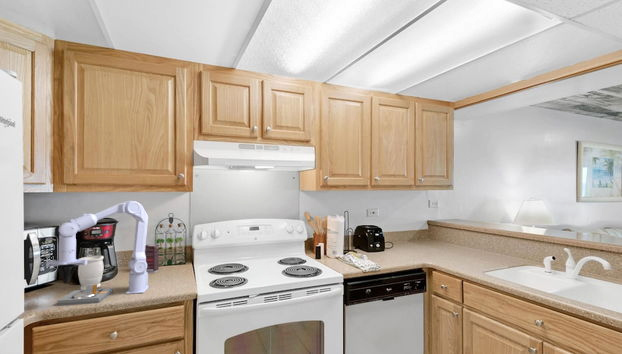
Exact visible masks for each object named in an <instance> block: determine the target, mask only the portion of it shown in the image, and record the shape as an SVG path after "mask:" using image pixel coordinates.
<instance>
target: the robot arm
mask: <svg viewBox="0 0 622 354" xmlns="http://www.w3.org/2000/svg"><path fill="white" fill-rule="evenodd" d="M115 214H128V215H129V216H131V217H132V218H133V219H135V233H134V241H133V242H134V243H133V251H132V254H131V259H130V260H129V261H128V268H129V269H130V271H129V272H128V278H129V279H128V290H127V291H126V292H125V295H129V294H143V293H146V291H147V290H148V289H149V288H150V287H151V285H149V273H147V272H146V269H147V263H146V255H145V246H146V245H147V236H148V235H147V233H148V224H149V215H148V214H147V212H146V210H145V209H144V206H143V205H142V204H141V203H139V202H138V201H135V200H126V201H124V202H119V203H117V204H114V205H112V206H110V207H108V208H106V209H103V210H101V211H98V212H97V213H94V214H93V213H83V214H82V216H80V217H77V218H75V219H73V218H72V219H70V221H69V222H68V221H66V222H63V223H62V224H60V226H59V227H58V233H59V236H58V237H59V240H58V260H48V261H46V264H45V265H46V268H49V267H57V268H56V270H57V272H58V273H59V274H60V276H61V279H62V282H63V284H68V283H70V282H71V279H72V276H73V274H74V272H75V270H76V268H77V266H79V265H86V264H87V260H80V258H78V259H77V239H76V236H77V235H76V234H77V233H78V232H82V231H83V230H87V229H88V228H91V227H93V226H95V225H97V222H99V221H100V220H102V219H105V218H107V217H111V216H113V215H115Z"/></svg>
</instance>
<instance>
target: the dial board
mask: <svg viewBox="0 0 622 354" xmlns="http://www.w3.org/2000/svg"><path fill="white" fill-rule="evenodd" d="M97 290H98V291H99V294H97V295H96V296H94V297H90V298H74V295H75V294H77V293H79V292H83V291H86V290H81V289H74V290H73V291H71V292H69V293H67V294H66V295H64V296H63V297H61V298H58V299H57V300H56V306H57V307H58V306H62V307H63V306H73V305H75V306H76V305H89V304H99V303H101V302H102V301H103V300H105V299H106V298H107V297H109V296H110V295H111V294H113V287H107V288H106V287H104V288H97Z"/></svg>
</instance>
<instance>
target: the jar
mask: <svg viewBox="0 0 622 354" xmlns="http://www.w3.org/2000/svg"><path fill="white" fill-rule="evenodd" d="M104 258H105V257H104V255H88V256H84V257H83V256H82V257H81V258H79V259H80V260H87V264H86V265H78V269H77V275H78V281H79V284H80V285H81V286H80V287H79V290H86V285H87V284H97V289H99V288H100V287H101V286H102V284H101V282H102V279H103V273H104V270H105V269H104V261H103V260H104Z"/></svg>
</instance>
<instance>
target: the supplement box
mask: <svg viewBox="0 0 622 354" xmlns="http://www.w3.org/2000/svg"><path fill="white" fill-rule="evenodd" d="M159 247H160V245H159V244H146V246H145V255H146V263H147V269H146V272H147V273H148V274H155V273H158V272H159V269H160V268H159V263H160V260H159V257H160V253H159V252H160V251H159Z"/></svg>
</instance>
